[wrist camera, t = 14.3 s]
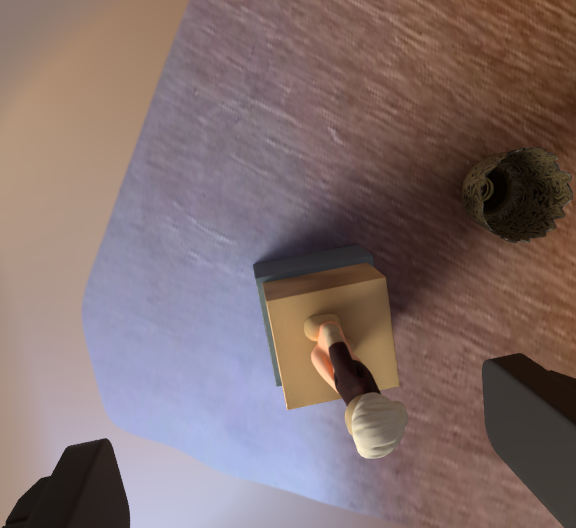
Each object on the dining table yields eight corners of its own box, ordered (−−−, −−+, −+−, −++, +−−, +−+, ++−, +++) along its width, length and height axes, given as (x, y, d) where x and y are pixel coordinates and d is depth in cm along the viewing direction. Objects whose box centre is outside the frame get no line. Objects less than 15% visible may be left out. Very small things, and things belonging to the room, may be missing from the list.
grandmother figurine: (280, 323, 35) (305, 415, 23) (321, 291, 35) (369, 366, 23) (342, 394, 37) (396, 515, 25) (381, 364, 37) (455, 470, 24)
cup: (424, 183, 44) (464, 190, 36) (487, 131, 44) (541, 126, 36) (468, 243, 46) (515, 262, 38) (529, 193, 46) (589, 202, 38)
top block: (281, 380, 42) (287, 410, 37) (262, 282, 39) (265, 301, 35) (381, 359, 42) (400, 386, 37) (367, 261, 40) (386, 277, 35)
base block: (272, 362, 47) (276, 386, 42) (252, 264, 44) (255, 278, 39) (371, 341, 47) (387, 363, 42) (357, 243, 45) (372, 255, 40)
